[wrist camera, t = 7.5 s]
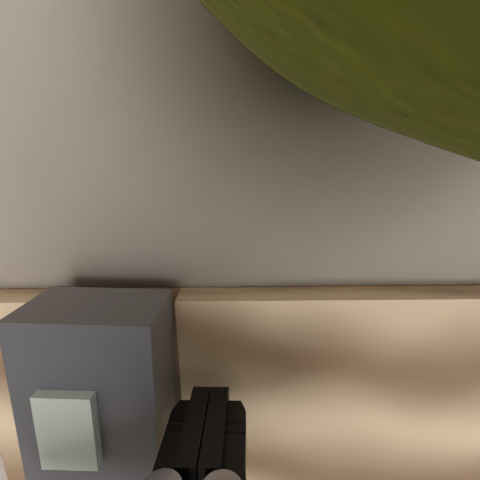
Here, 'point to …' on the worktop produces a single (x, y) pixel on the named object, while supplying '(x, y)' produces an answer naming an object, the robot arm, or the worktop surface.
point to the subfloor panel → (326, 377)
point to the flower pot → (375, 59)
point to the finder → (90, 381)
